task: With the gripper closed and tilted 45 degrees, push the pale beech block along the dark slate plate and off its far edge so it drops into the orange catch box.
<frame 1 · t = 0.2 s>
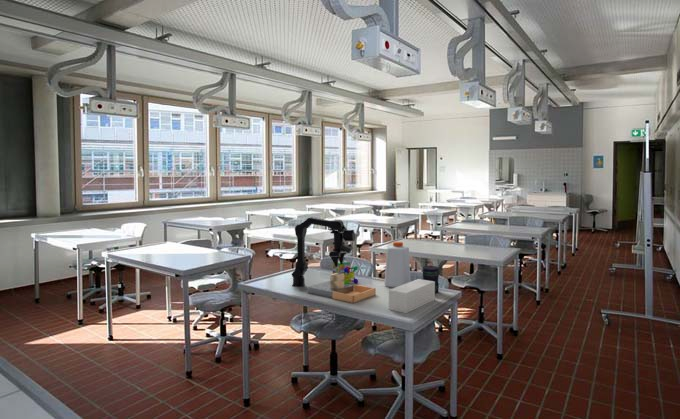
hand: (339, 265, 290), 15 cm above the table, tool pointing down, fingers open, 9 cm apart
molecular model: (349, 284, 304), on the table
plastic bottle: (397, 285, 300), on the table
long white block: (412, 305, 257), on the table
storage jar: (430, 291, 284), on the table
catch box: (353, 296, 273), on the table
chalk box: (341, 278, 321), on the table
slate plate: (330, 291, 284), on the table
beech block: (337, 287, 281), point 3 cm above the table, touching slate plate
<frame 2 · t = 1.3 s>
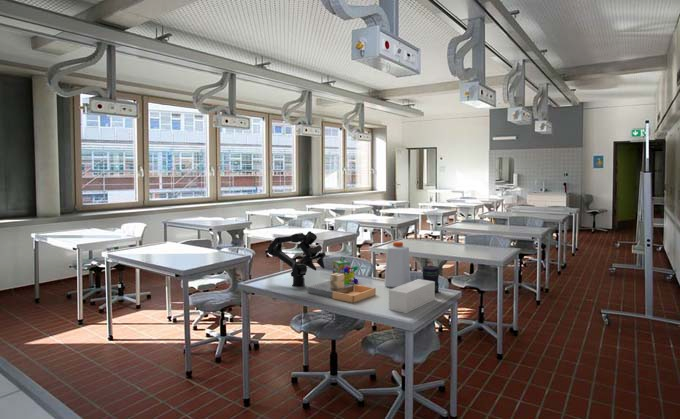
hand: (320, 269, 288), 13 cm above the table, tool tilted 45°, fingers open, 7 cm apart
nothing on the table moved.
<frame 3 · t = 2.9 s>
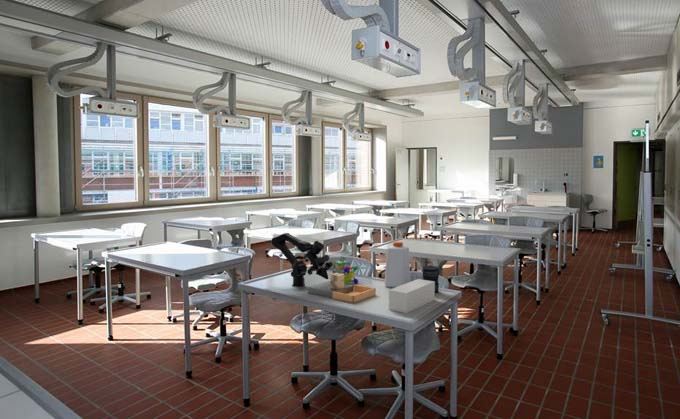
hand: (327, 278, 285), 8 cm above the table, tool tilted 45°, fingers closed
nothing on the table moved.
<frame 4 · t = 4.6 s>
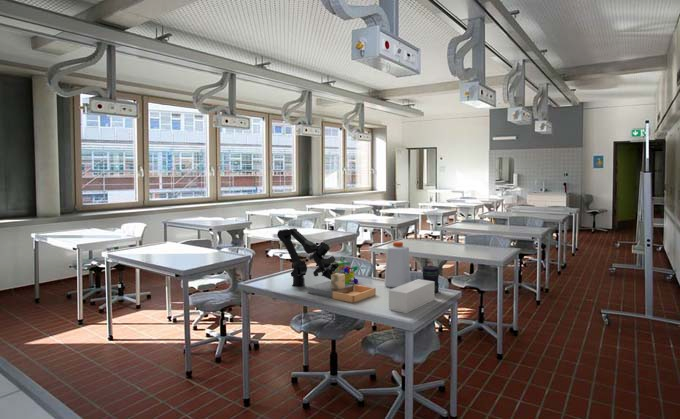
hand: (333, 280, 282), 7 cm above the table, tool tilted 45°, fingers closed
nothing on the table moved.
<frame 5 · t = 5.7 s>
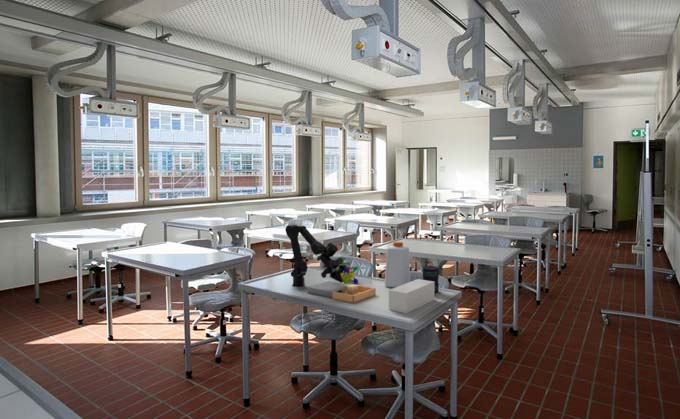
hand: (341, 282, 278), 7 cm above the table, tool tilted 45°, fingers closed
beech block: (344, 289, 277), point 3 cm above the table, tilted 90°, touching catch box
everything else where it was.
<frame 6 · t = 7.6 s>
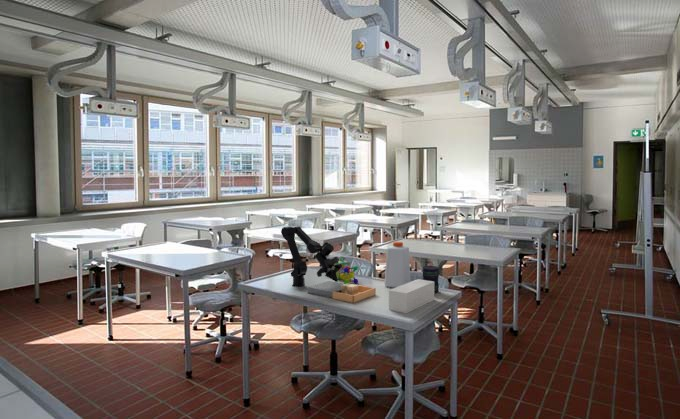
hand: (337, 281, 280), 7 cm above the table, tool tilted 45°, fingers closed
nothing on the table moved.
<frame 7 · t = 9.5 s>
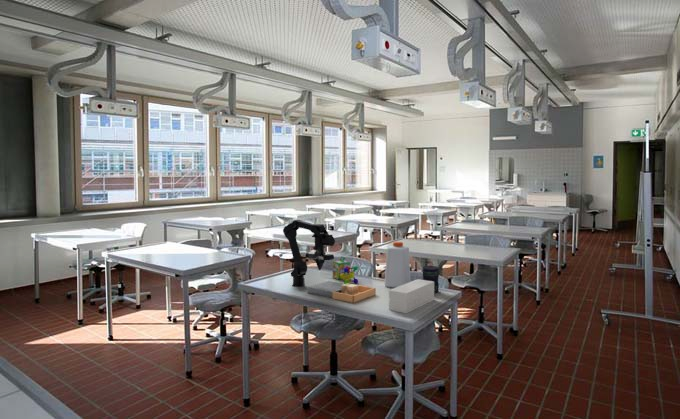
hand: (319, 269, 288), 12 cm above the table, tool pointing down, fingers closed
nothing on the table moved.
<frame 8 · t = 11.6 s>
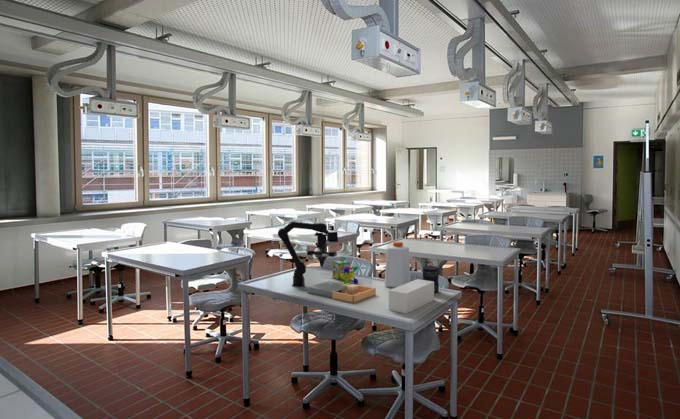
hand: (321, 266, 301), 12 cm above the table, tool pointing down, fingers closed
nothing on the table moved.
at the end: beech block 6.8 cm from the catch box (horizontally); beech block touching catch box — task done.
